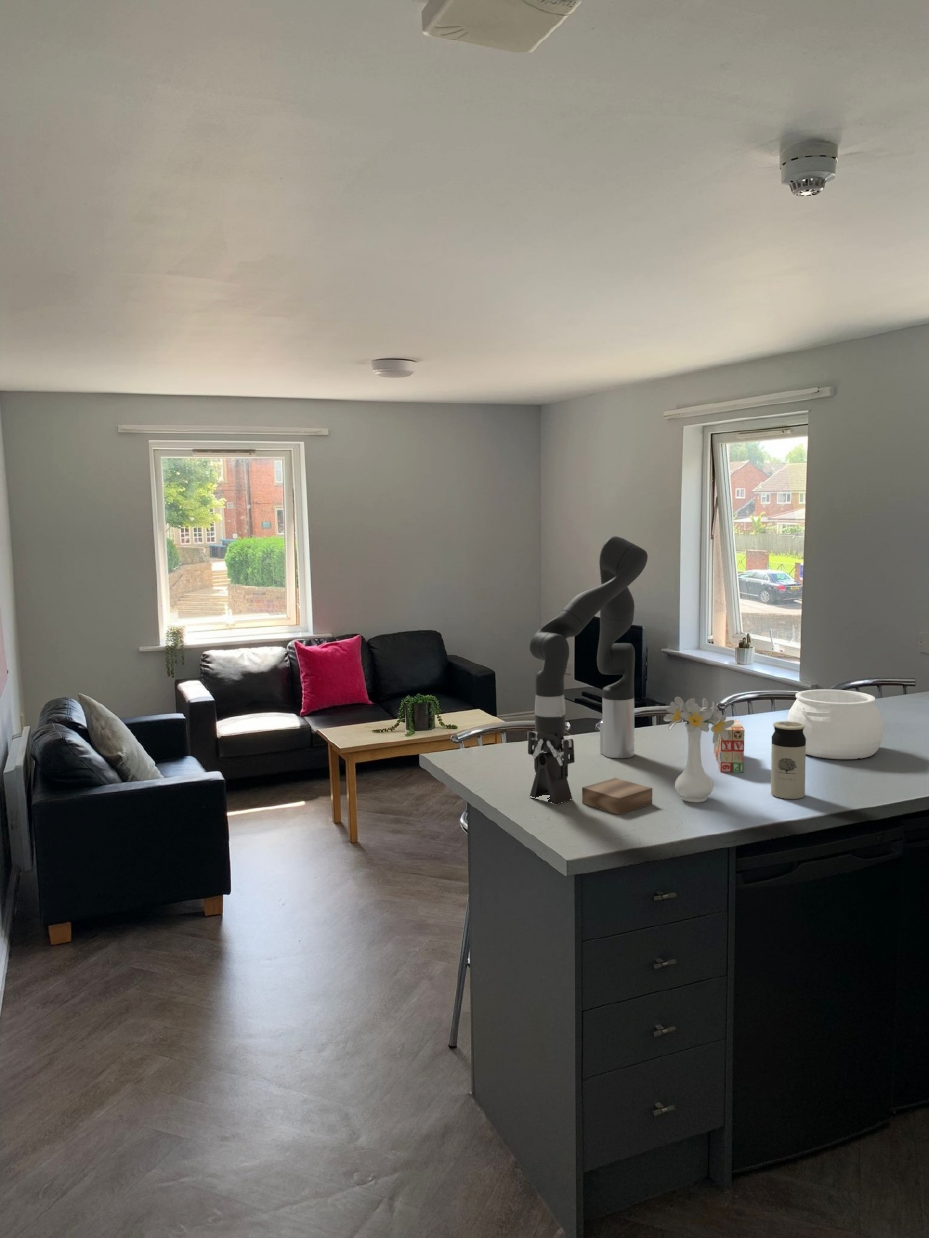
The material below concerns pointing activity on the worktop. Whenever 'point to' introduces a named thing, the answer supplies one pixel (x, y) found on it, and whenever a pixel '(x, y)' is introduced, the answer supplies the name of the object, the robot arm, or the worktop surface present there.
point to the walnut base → (617, 796)
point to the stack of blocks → (731, 749)
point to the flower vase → (696, 745)
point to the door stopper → (550, 780)
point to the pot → (838, 723)
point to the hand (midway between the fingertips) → (551, 776)
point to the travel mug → (788, 760)
